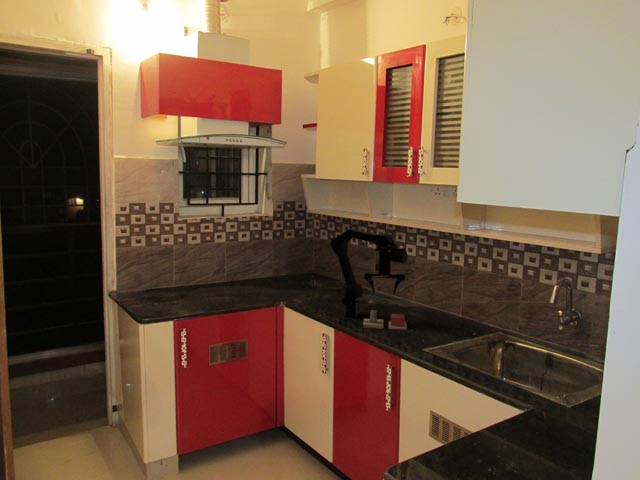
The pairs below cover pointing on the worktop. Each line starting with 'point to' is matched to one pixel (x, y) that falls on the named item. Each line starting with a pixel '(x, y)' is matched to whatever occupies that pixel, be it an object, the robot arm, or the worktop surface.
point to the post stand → (373, 321)
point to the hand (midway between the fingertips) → (384, 294)
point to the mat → (398, 326)
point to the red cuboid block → (397, 320)
